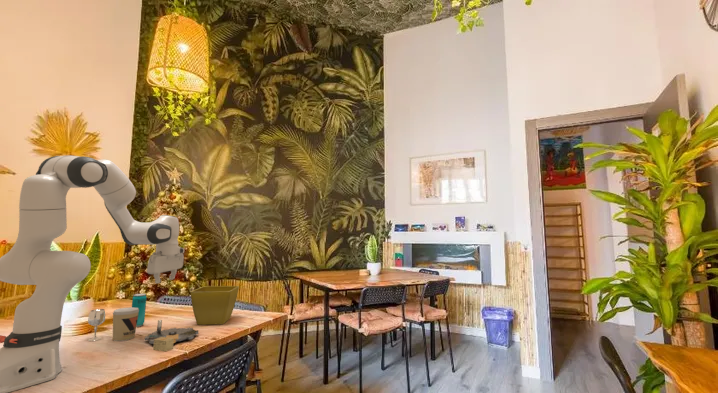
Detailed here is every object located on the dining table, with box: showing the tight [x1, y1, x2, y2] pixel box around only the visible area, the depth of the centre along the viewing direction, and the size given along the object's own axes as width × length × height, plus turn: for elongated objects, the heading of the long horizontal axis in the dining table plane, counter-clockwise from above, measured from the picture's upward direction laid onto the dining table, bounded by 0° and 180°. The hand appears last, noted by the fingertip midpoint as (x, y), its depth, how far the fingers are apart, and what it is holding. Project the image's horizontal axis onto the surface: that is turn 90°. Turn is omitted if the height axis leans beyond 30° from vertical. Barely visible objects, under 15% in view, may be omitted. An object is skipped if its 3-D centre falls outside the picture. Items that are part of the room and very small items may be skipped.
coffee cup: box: [112, 306, 139, 342], centre depth 142 cm, size 9×9×12 cm
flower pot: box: [190, 285, 240, 326], centre depth 170 cm, size 19×19×17 cm
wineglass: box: [87, 308, 106, 342], centre depth 140 cm, size 6×6×12 cm
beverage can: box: [131, 293, 147, 328], centre depth 161 cm, size 6×6×15 cm
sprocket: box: [144, 319, 199, 345], centre depth 141 cm, size 20×20×6 cm
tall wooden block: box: [152, 337, 174, 352], centre depth 129 cm, size 4×6×4 cm, turn 74°
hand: (165, 281), depth 150 cm, fingers open, 8 cm apart
